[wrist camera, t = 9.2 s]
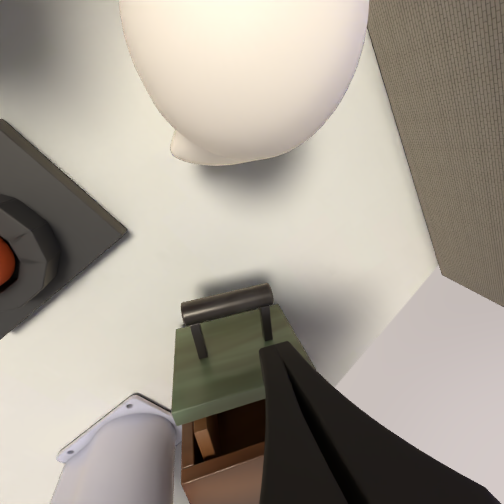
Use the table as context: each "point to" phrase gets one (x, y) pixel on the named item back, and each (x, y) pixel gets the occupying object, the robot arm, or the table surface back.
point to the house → (451, 125)
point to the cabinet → (220, 473)
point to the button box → (44, 228)
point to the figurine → (244, 70)
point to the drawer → (226, 367)
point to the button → (6, 262)
